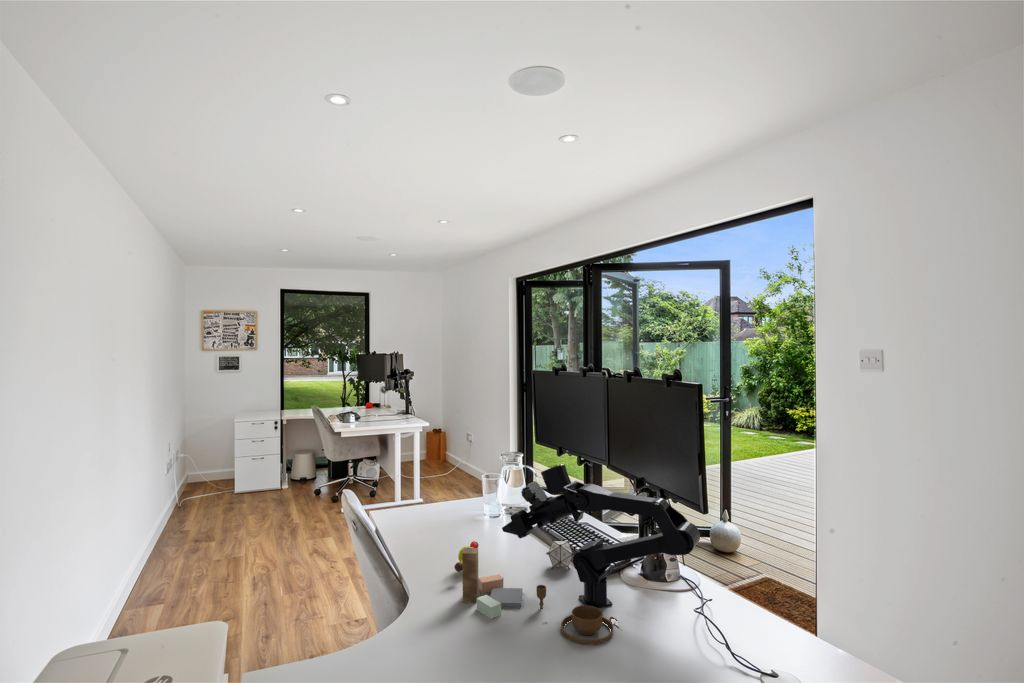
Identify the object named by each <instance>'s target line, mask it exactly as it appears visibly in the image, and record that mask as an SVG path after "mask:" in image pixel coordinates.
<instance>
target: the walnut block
mask: <svg viewBox="0 0 1024 683" xmlns="http://www.w3.org/2000/svg"><path fill="white" fill-rule="evenodd" d="M462 567H463V570H462V603H477V601H476V598H478V597H480V596H479V595H480V593H479V591H480V590H479V588H478V578H479V547H478V548H464V550H463V553H462Z"/></svg>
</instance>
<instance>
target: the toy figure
mask: <svg viewBox="0 0 1024 683" xmlns="http://www.w3.org/2000/svg"><path fill="white" fill-rule="evenodd" d="M464 548H478V549H479V543H478V542H477V541H472V542H470V544H469V546H468V545H467V546H463V547H462V548H460V550H459V552H458V560H459V561H458V562H456V563H455V564H454V570H455V571H456V572H463V567H462V553H463V550H464Z"/></svg>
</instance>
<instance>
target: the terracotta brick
mask: <svg viewBox="0 0 1024 683" xmlns="http://www.w3.org/2000/svg"><path fill="white" fill-rule="evenodd" d="M478 588H479V591H480V593H481V594H486V592H487V593H491V591H492V588H504V578H503V577H502V575H501V574H494V575H493V574H492V575H488V576H484V577H483V576H482V577H478Z"/></svg>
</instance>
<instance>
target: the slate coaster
mask: <svg viewBox="0 0 1024 683" xmlns="http://www.w3.org/2000/svg"><path fill="white" fill-rule="evenodd" d="M523 590H524V589H523V588H522V587H521V588H520V587H518V588H517V587H503V588H492V591H491V592H490V596H489V597H491V598H493V599H494V600H496V601H498V602H500V603H501V608H505V609H506V608H508V609H509V608H510V609H513V608H515V609H522V605H523V604H522V603H523V593H524V592H523Z"/></svg>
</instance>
